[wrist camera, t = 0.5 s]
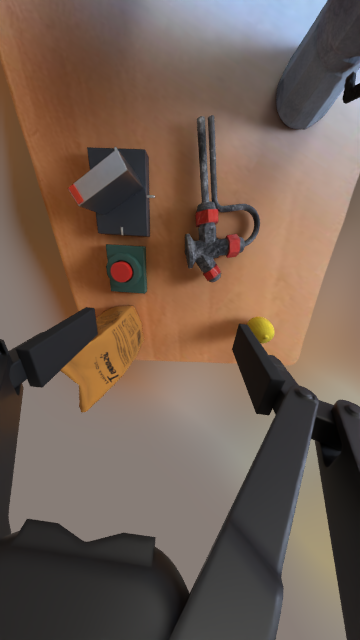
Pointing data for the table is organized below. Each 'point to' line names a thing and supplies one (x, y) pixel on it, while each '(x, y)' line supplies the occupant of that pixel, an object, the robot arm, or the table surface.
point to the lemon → (261, 329)
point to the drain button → (121, 271)
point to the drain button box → (137, 262)
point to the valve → (213, 215)
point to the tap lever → (106, 185)
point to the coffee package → (106, 354)
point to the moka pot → (322, 66)
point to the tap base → (135, 210)
